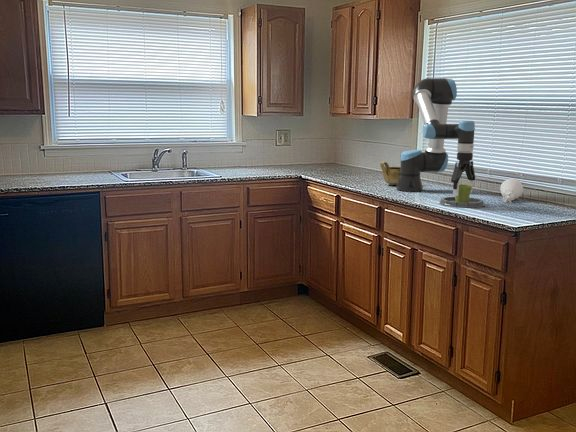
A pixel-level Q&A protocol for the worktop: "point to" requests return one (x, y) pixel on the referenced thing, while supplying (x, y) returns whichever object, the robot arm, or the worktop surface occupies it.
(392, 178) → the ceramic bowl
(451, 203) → the saucer
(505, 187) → the white teardrop lump
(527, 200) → the worktop surface
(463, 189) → the plant pot
